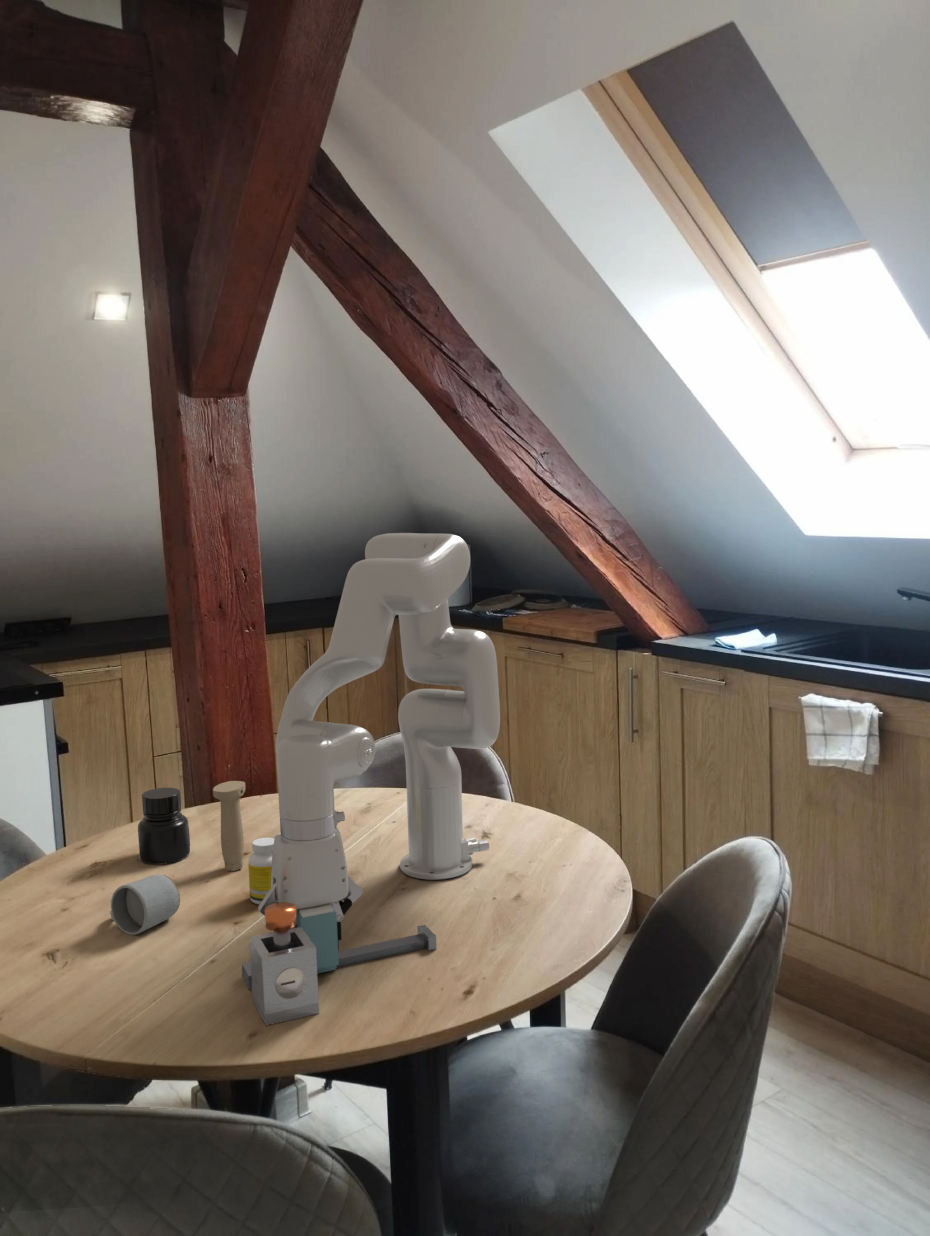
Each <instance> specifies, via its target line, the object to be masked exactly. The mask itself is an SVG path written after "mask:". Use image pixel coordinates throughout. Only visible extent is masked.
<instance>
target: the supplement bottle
mask: <svg viewBox="0 0 930 1236" xmlns="http://www.w3.org/2000/svg"><path fill="white" fill-rule="evenodd" d="M274 839H275V837H261V838H256V839H255V840H253V841H252V842H251V846H252V848H251V849H252V854H250V856H249V857H248V862H247V863H248V881H249V882H248V883H249V898H250V899H249V900H250V901H251V902H252V903H254V904H256V905H260V903H261V902H262V900H263V899H264V898H265V896H266V895H267V893H268V892H269V890H270V889H271V873H272V854H273V845H274ZM275 903H278V901H276V902H275Z"/></svg>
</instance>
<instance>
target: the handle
mask: <svg viewBox="0 0 930 1236" xmlns="http://www.w3.org/2000/svg"><path fill="white" fill-rule="evenodd" d="M245 792H246V782H245V781H241V780H229V781H225V782H221V783H219V784H217V785H215V786H214V787H213V789H212V795H213V798H215V799H216V800H219V801H220V845H221V854H222V857H223V858H222V859H223V863H224V868H225V871H228V872H235V871H240V870H242V869H243V865H244V862H243V859H244V853H245V851H244V850H245V847H244V846H245V841H244V840H245V839H244V830H243V821H242V812H241V801H240V800H241V799H240V798H241V797H242V796H243V795H244V794H245ZM239 869H240V870H239Z"/></svg>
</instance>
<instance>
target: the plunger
mask: <svg viewBox="0 0 930 1236" xmlns="http://www.w3.org/2000/svg"><path fill="white" fill-rule="evenodd" d="M264 923H265V928H266V929H267V930H268V931H271V932H273V942H274V952H276V951H281V950H286V949H291V936H290V929H292V928H294V927H295V926H296V925H297V915H296V906H295V905H294V904H292V903H288V902H280V903H278V902H276V903H274V904H271V905H269V906H267V907H266V908H265V915H264Z"/></svg>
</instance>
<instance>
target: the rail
mask: <svg viewBox="0 0 930 1236" xmlns="http://www.w3.org/2000/svg"><path fill="white" fill-rule="evenodd" d="M416 928H417V929H416V930H417V932H416V933H417V934H414V935H408V936H404V937H399V938H394V939H390V940H385V941H380V942H375V943H372V944H371V943H370V944H366V945H362V946H356V947H352V948H348V949H347V948H346V949H344V950H343V949H342V950H338V960H339V965H336V969H337V968H341V967H346V966H351V965H355V964H359V963H364V962H369V961H373V960H379V959H383V958H387V957H393V956H396V955H400V954H401V955H402V954H406V953H410V952H415V951H419V950H424V949H426V950H427V951H428V952H429V951H435V950H437V936H436V934H435V933H434V932H433V931H432V930H431V929H430V928H429V927H428V926H427V925H426V924H422V925H417V926H416ZM241 976H242V979H243V981H244V982H245V985H246V986H247V988H248V990H249V991H252V977H251V960H250V961H249V960H248V961H245V962H244V961H243V962H241Z"/></svg>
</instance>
